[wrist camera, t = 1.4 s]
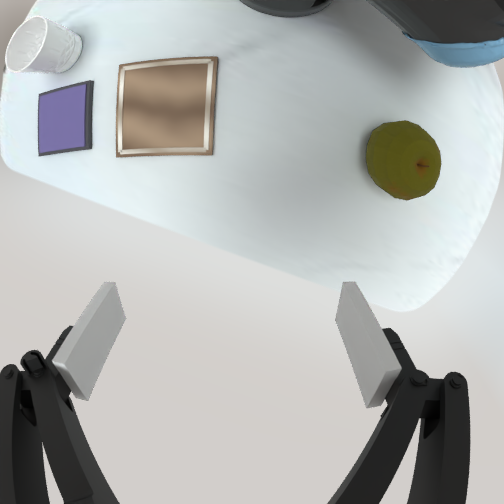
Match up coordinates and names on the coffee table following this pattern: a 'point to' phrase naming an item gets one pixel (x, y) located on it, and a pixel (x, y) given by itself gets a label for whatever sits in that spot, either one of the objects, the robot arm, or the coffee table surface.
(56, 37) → the white cup
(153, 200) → the coffee table surface
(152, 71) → the brown square coaster
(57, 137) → the ink pad
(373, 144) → the apple
